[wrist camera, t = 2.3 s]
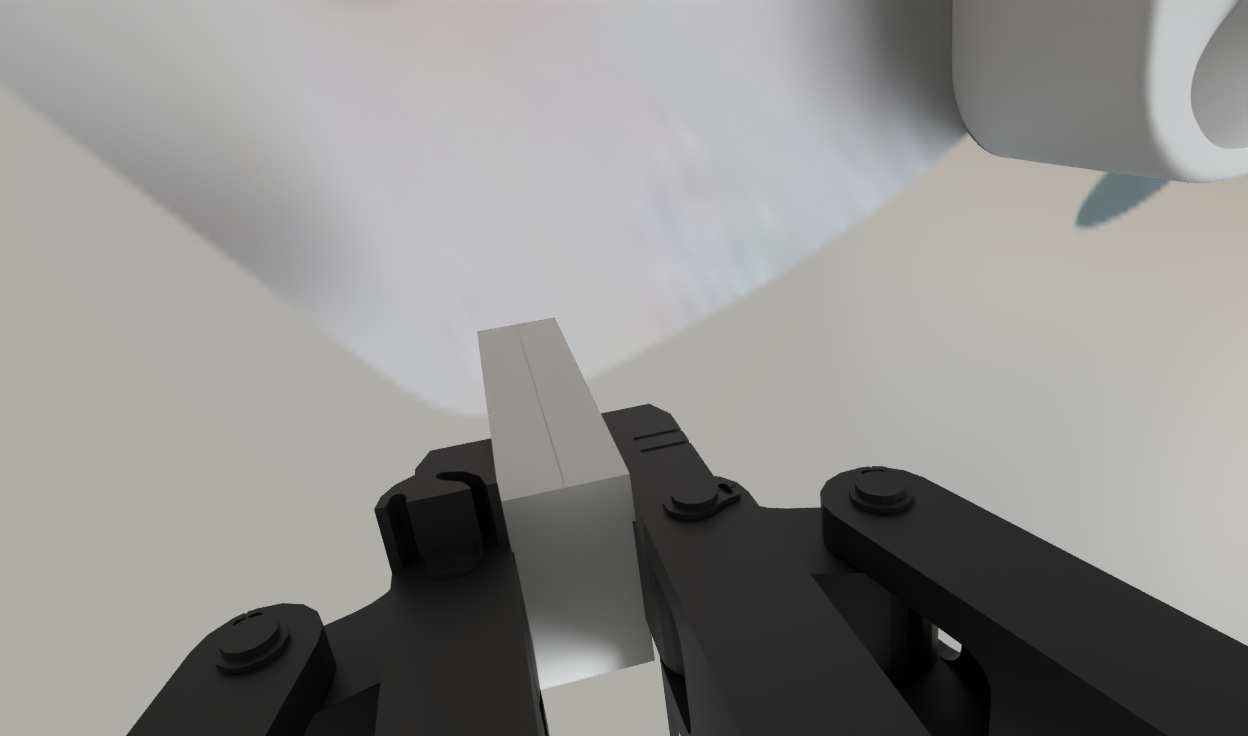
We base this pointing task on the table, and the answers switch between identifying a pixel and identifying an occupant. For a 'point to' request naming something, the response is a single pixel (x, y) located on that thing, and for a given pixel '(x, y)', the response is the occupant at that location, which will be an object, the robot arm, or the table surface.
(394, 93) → the table surface
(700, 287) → the table surface
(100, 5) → the table surface
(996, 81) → the lumpy-topped squat cylinder
